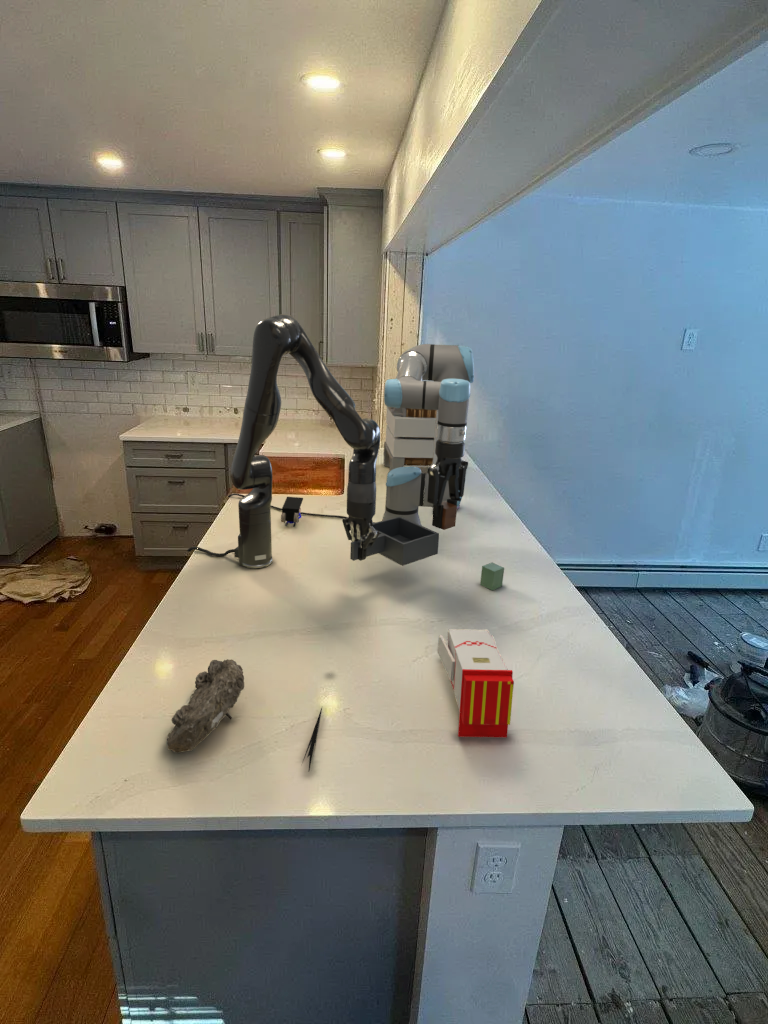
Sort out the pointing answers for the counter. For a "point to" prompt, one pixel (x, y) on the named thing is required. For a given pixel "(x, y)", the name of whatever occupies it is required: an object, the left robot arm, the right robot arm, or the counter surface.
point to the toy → (478, 682)
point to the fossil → (206, 705)
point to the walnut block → (448, 515)
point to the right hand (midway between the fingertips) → (443, 524)
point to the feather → (313, 740)
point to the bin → (401, 541)
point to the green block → (492, 576)
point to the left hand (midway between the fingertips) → (359, 558)
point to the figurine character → (291, 510)
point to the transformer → (409, 437)
